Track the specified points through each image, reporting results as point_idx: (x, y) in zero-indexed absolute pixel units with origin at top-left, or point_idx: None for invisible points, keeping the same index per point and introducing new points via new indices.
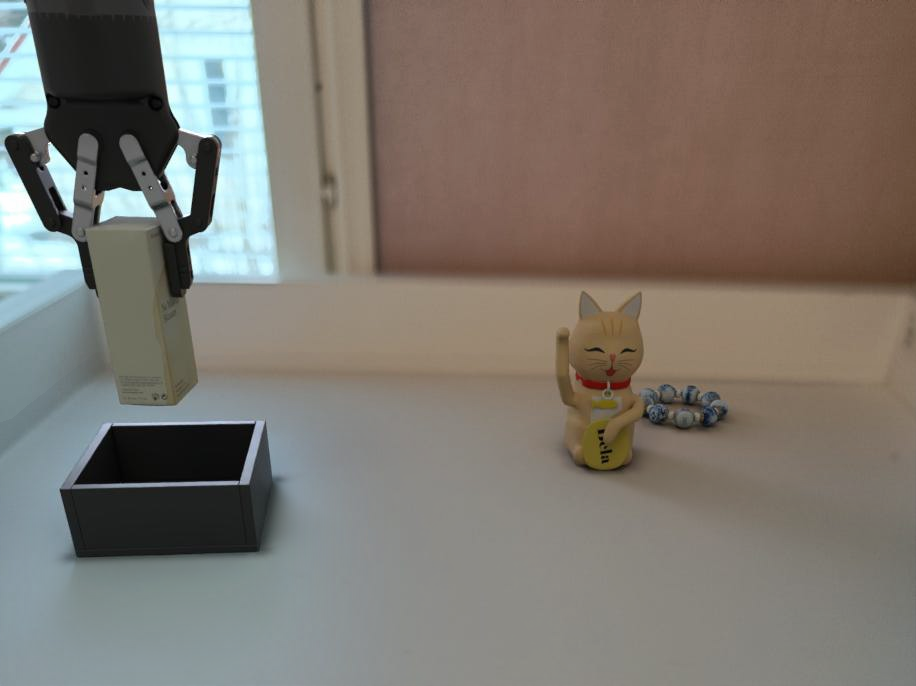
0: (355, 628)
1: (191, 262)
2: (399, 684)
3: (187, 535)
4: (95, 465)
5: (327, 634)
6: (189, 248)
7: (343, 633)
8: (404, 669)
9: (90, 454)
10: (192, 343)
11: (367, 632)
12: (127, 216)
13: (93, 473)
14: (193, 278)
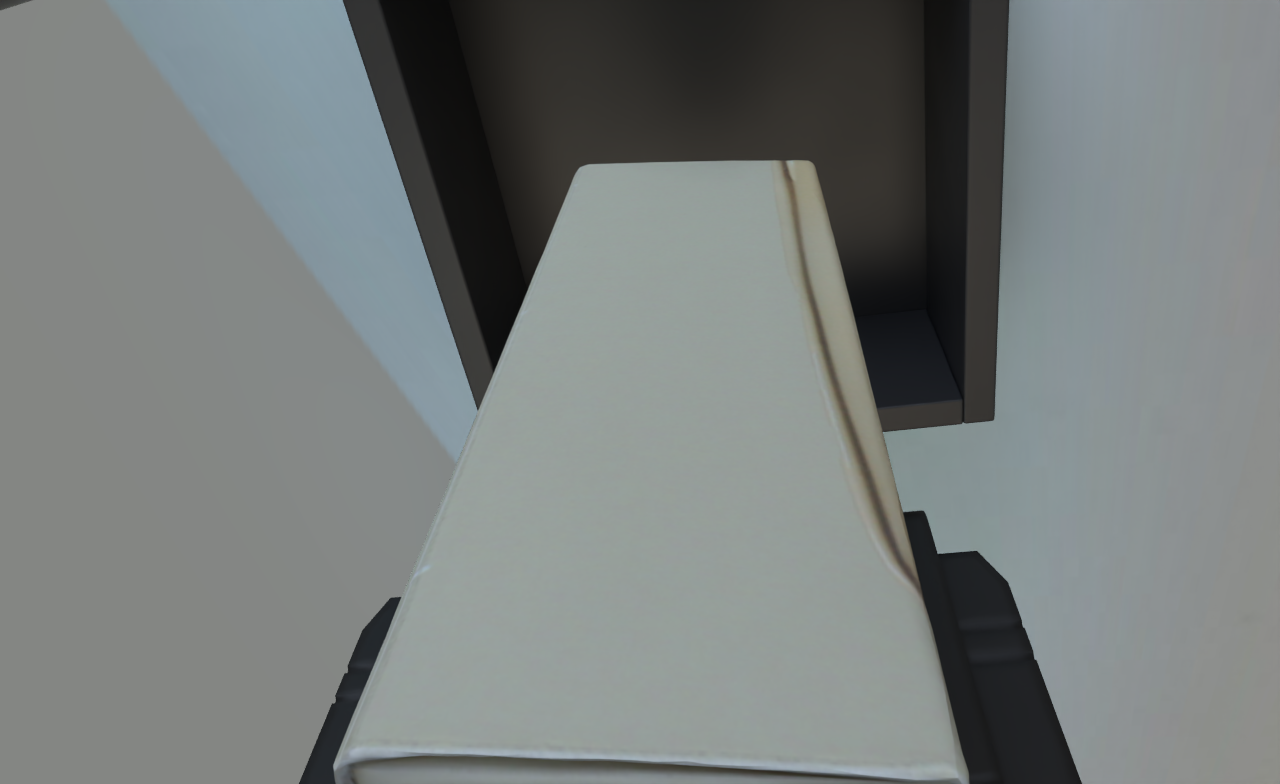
0: (1162, 566)
1: (1035, 660)
2: (1215, 681)
3: None
4: (467, 240)
5: (1106, 581)
6: (1066, 743)
7: (1137, 578)
8: (1231, 653)
9: (452, 259)
10: (832, 234)
11: (1183, 575)
12: (443, 748)
13: (479, 267)
14: (1003, 579)
